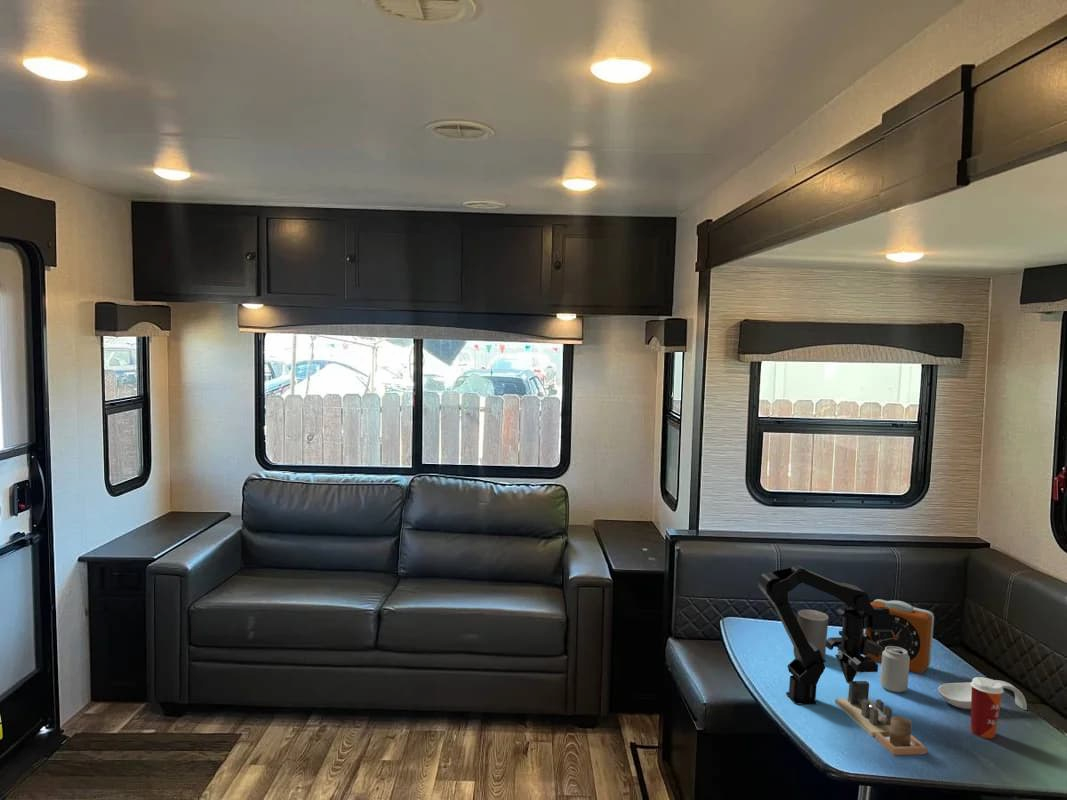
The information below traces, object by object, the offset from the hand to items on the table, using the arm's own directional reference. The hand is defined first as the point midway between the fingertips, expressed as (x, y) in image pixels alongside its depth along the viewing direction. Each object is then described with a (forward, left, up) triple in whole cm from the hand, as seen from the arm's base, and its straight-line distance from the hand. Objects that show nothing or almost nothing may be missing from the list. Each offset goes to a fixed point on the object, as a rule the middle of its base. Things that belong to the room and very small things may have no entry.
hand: (849, 683), depth 225 cm
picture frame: (0, -26, -5) cm, 26 cm away
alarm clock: (+30, +24, -5) cm, 39 cm away
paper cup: (+27, -21, -5) cm, 34 cm away
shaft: (0, -11, -3) cm, 12 cm away
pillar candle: (+4, +31, -5) cm, 32 cm away
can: (+18, +6, -5) cm, 20 cm away
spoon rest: (+38, -5, -5) cm, 39 cm away
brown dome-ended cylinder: (0, -26, -4) cm, 26 cm away
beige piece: (0, -12, -5) cm, 12 cm away
